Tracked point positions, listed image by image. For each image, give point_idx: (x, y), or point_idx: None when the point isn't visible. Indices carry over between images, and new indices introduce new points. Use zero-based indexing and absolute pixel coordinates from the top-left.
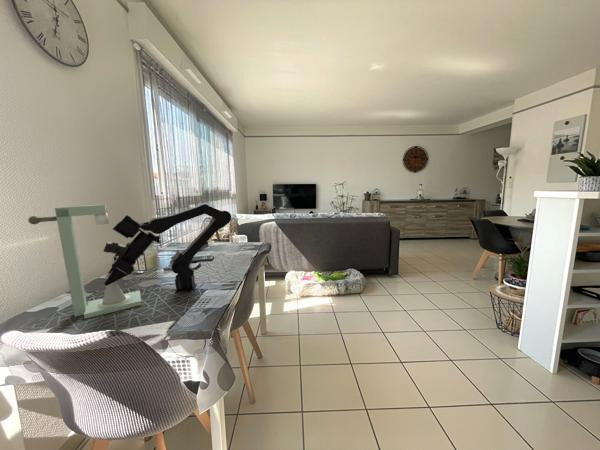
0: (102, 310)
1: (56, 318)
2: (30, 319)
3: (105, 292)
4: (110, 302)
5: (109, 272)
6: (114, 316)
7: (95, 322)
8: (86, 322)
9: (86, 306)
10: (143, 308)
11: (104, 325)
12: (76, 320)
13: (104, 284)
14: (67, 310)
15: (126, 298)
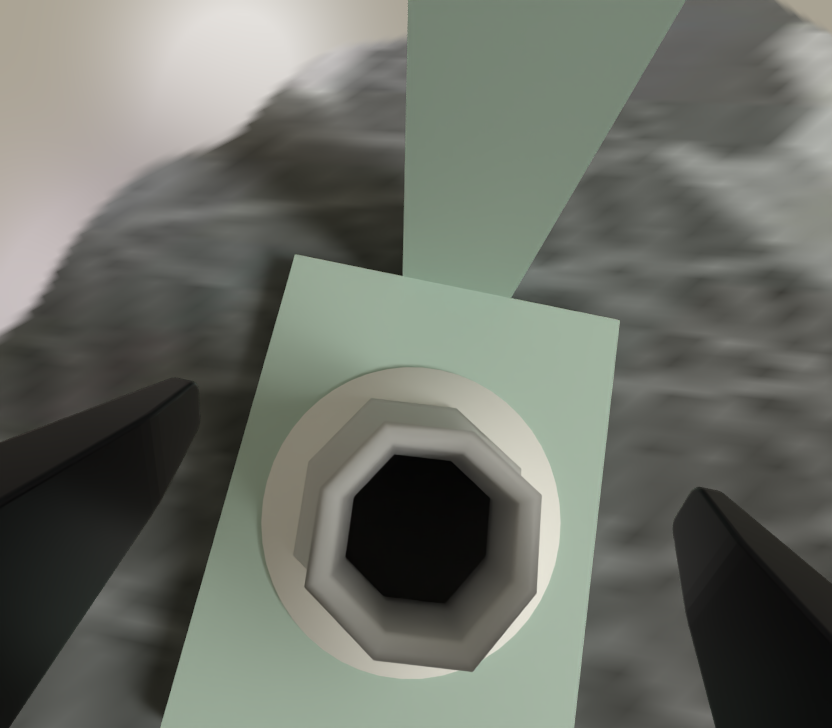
0: (259, 383)
1: None
2: None
3: (378, 425)
4: (313, 461)
5: (745, 566)
6: None
7: (143, 322)
8: (210, 274)
9: (475, 288)
10: (57, 718)
11: (11, 364)
12: (323, 227)
13: (182, 383)
14: (616, 197)
15: None
